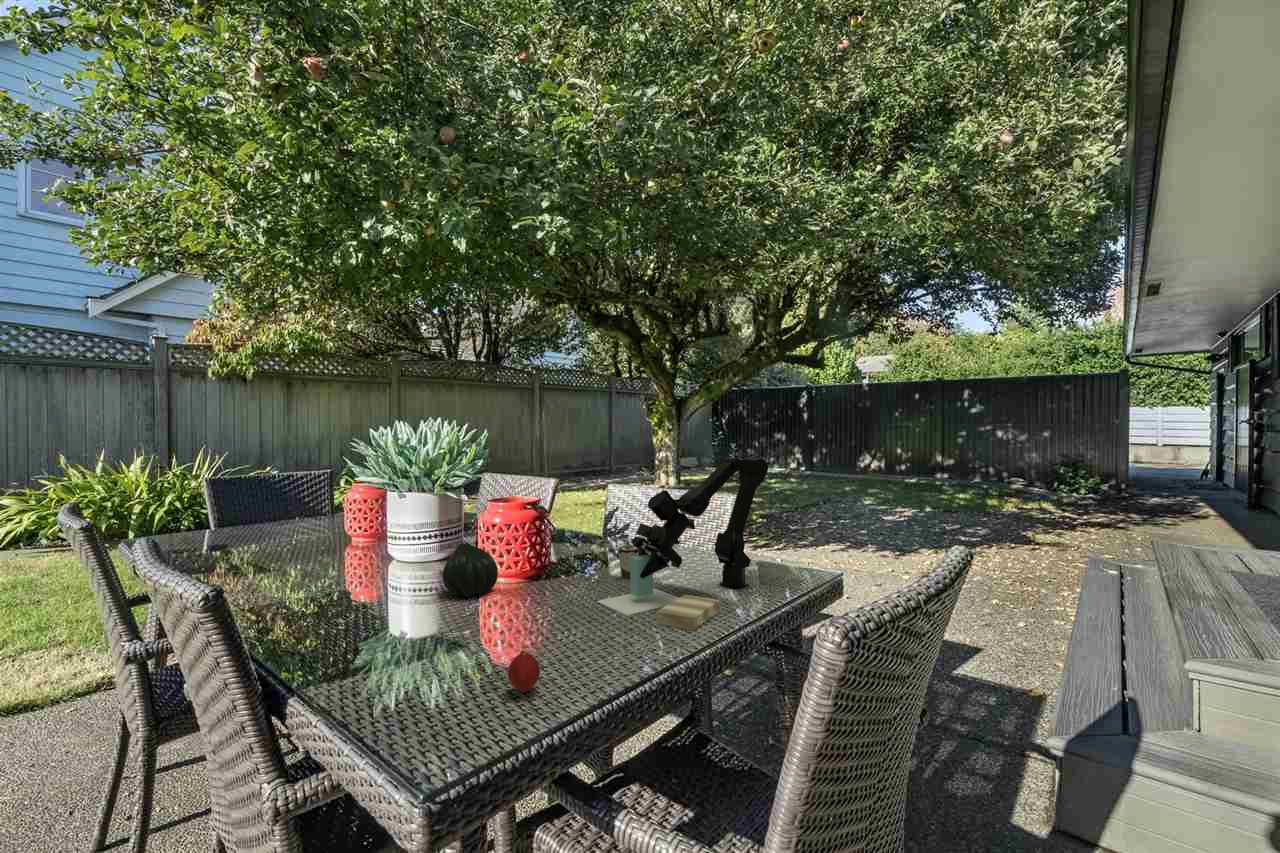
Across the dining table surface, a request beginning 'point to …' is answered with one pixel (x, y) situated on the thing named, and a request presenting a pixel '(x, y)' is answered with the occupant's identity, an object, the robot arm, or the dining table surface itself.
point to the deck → (688, 612)
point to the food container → (626, 559)
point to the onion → (523, 671)
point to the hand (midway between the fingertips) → (637, 575)
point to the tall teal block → (636, 582)
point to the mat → (638, 602)
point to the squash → (469, 571)
